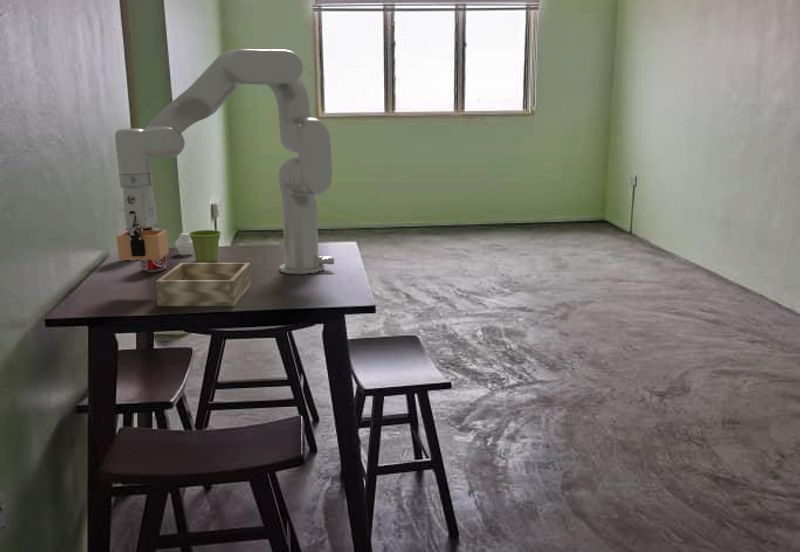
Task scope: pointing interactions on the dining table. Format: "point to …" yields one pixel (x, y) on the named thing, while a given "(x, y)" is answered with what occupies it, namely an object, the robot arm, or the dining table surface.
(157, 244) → the box
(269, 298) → the dining table surface
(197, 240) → the plant pot
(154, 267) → the soda can
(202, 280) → the big crate
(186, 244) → the white ribbed round piece
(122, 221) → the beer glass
